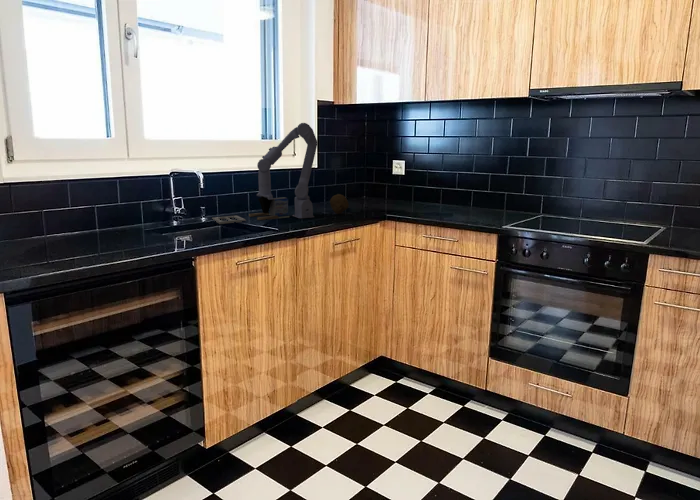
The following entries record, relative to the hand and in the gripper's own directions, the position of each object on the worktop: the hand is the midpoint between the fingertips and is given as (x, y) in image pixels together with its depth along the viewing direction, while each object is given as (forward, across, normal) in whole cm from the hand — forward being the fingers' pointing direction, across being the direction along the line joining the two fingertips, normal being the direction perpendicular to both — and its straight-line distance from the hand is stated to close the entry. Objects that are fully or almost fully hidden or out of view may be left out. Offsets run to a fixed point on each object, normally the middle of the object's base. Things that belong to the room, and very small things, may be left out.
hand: (265, 212), depth 240 cm
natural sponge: (+2, +11, +35) cm, 37 cm away
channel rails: (+2, 0, -1) cm, 2 cm away
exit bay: (+2, 0, +7) cm, 7 cm away
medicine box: (+2, 0, +7) cm, 7 cm away
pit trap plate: (+2, 0, -18) cm, 18 cm away
